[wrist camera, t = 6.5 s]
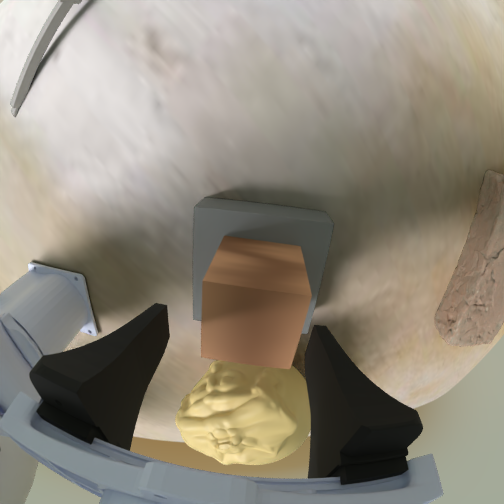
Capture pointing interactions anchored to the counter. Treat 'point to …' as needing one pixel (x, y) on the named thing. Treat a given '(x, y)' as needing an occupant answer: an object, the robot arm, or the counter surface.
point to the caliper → (39, 51)
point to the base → (259, 238)
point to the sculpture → (246, 413)
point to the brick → (478, 275)
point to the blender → (15, 472)
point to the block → (254, 303)
